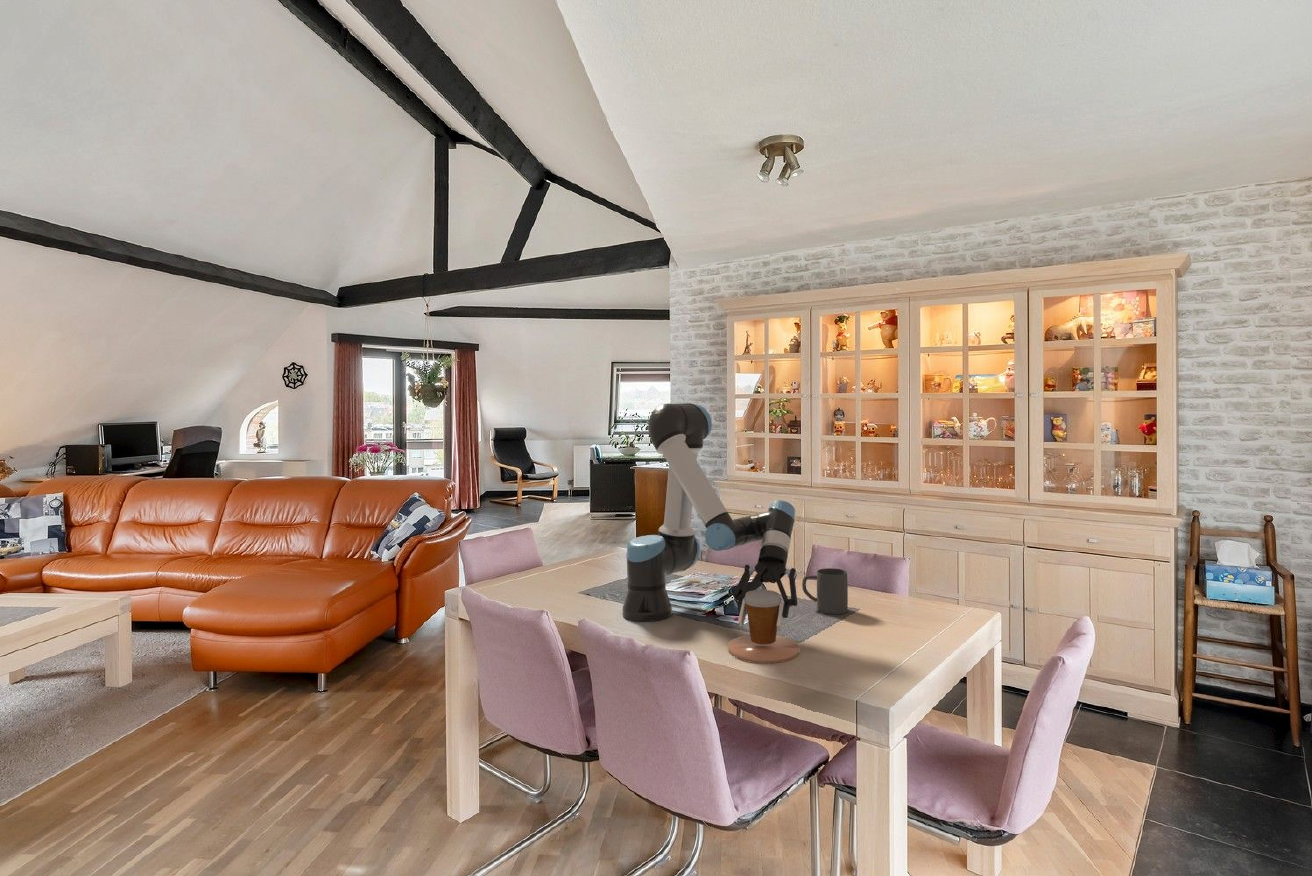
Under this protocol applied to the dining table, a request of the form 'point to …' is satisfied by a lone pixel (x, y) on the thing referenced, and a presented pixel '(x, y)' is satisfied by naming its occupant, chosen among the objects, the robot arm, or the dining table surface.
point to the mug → (830, 590)
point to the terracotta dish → (763, 650)
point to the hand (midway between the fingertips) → (759, 626)
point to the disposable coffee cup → (762, 615)
